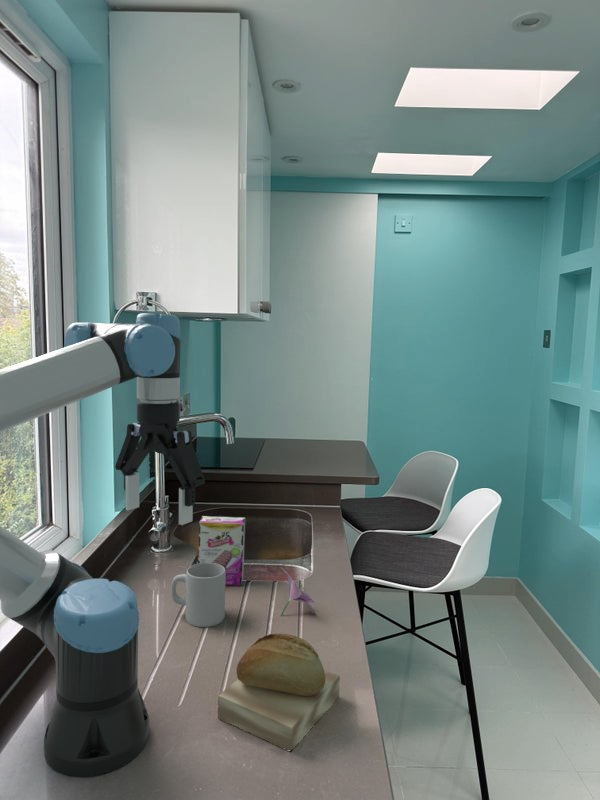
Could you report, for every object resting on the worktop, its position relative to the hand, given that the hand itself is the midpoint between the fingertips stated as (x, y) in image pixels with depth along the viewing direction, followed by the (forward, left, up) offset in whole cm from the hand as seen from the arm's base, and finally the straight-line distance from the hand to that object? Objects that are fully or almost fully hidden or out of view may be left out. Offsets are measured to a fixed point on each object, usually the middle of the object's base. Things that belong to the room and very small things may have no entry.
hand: (158, 515), depth 106 cm
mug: (+18, +6, -29) cm, 34 cm away
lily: (+32, -11, -29) cm, 45 cm away
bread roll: (+2, -26, -25) cm, 36 cm away
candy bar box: (+35, +13, -29) cm, 47 cm away
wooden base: (+2, -26, -29) cm, 39 cm away
